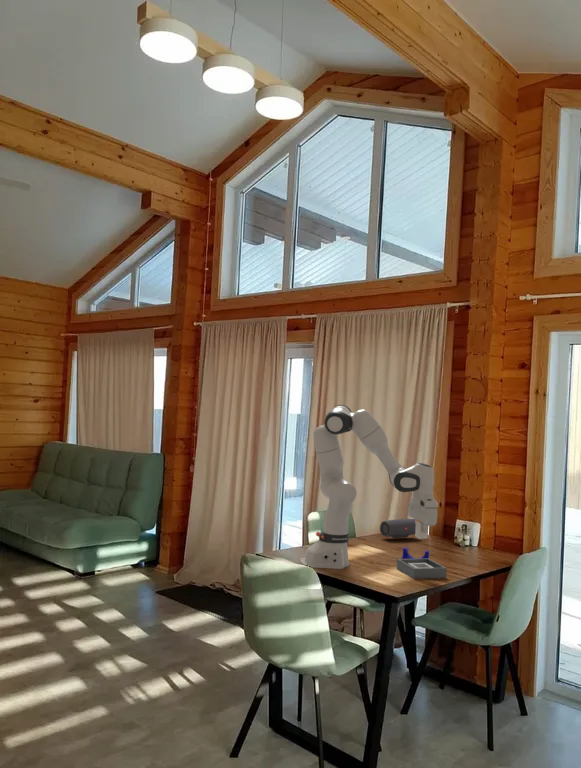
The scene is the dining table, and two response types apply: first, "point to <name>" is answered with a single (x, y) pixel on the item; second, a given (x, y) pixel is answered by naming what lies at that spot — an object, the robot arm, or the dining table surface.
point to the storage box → (421, 568)
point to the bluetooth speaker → (398, 528)
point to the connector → (420, 530)
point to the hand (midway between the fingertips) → (421, 531)
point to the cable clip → (407, 556)
